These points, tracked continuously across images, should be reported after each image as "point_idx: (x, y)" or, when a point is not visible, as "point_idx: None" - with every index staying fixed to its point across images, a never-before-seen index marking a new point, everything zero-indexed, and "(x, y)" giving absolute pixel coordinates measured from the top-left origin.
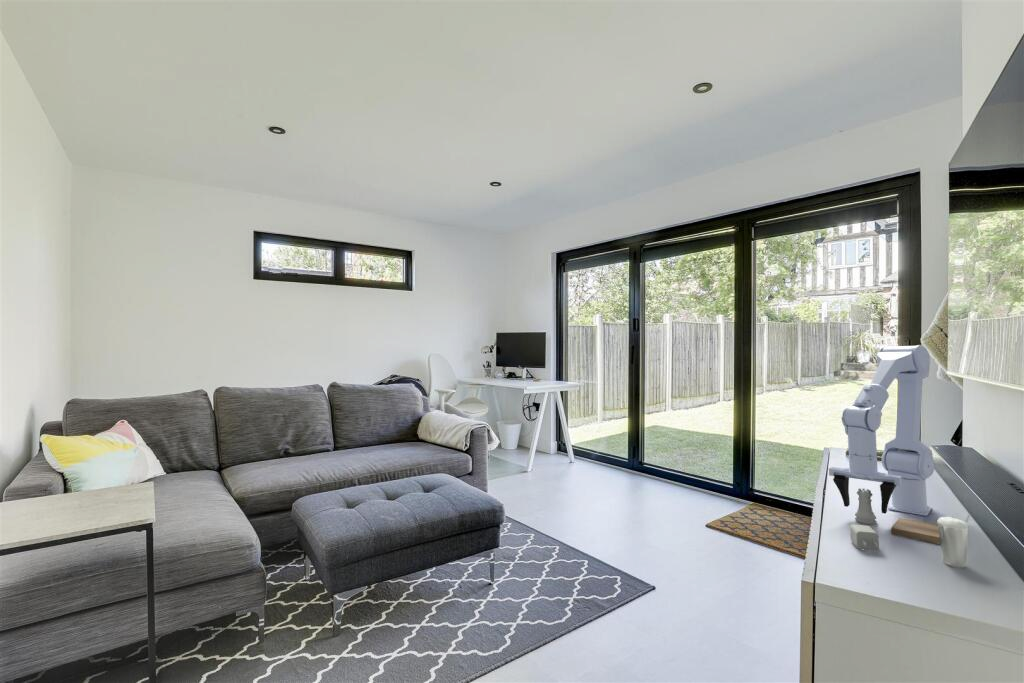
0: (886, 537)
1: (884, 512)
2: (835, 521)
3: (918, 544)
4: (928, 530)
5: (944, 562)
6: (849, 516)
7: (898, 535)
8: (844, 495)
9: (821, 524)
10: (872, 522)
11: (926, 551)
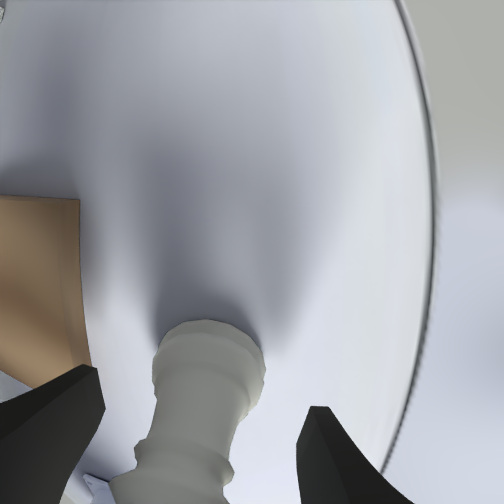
0: (96, 126)
1: (79, 365)
2: (366, 272)
3: (11, 131)
4: None
5: (2, 10)
6: (293, 406)
7: (56, 198)
8: (345, 467)
9: (428, 156)
10: (170, 333)
11: (7, 70)
